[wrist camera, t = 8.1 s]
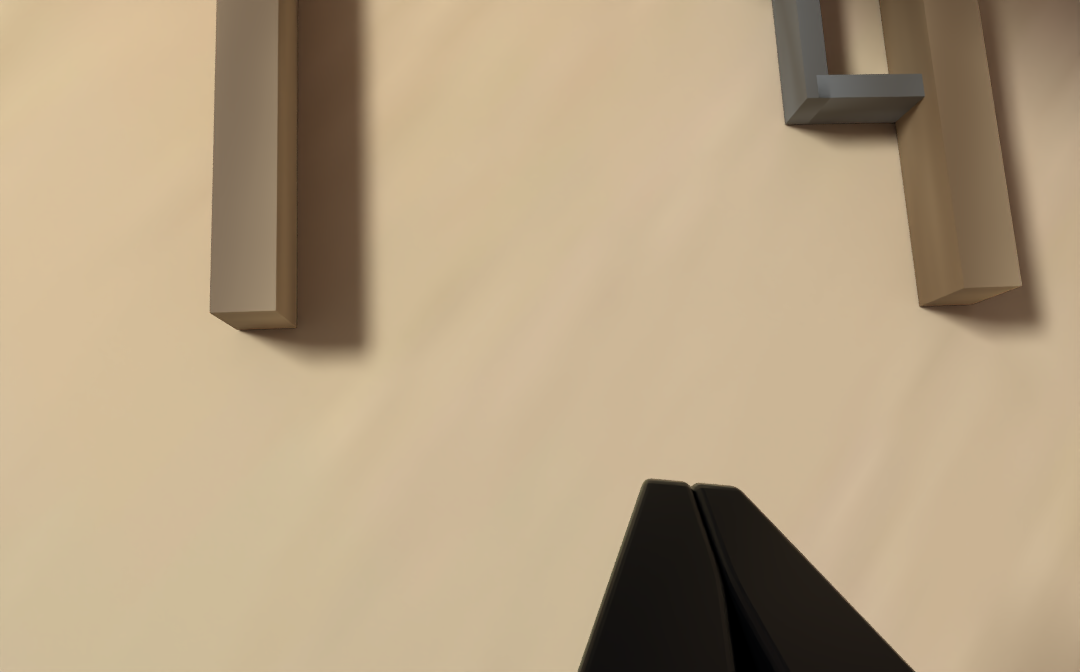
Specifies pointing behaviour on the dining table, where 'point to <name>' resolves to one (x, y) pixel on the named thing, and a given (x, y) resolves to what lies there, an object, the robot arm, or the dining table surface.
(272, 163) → the rectangular frame
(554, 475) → the dining table surface
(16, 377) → the dining table surface
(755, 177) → the dining table surface
